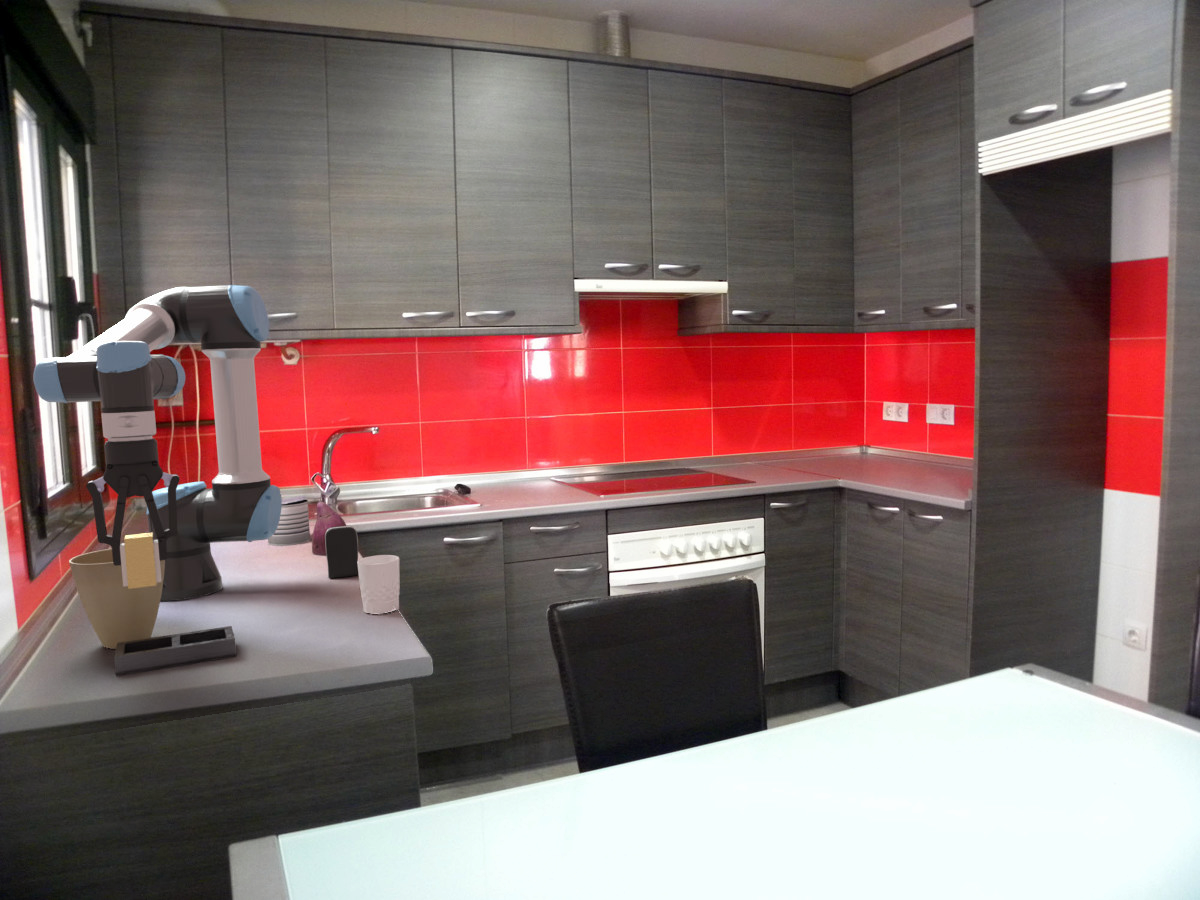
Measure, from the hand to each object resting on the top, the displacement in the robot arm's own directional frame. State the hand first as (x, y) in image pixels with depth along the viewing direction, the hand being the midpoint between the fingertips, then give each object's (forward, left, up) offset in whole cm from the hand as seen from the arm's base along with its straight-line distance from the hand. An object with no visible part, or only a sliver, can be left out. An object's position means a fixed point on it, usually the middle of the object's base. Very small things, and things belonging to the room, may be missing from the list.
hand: (142, 582), depth 145 cm
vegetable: (-74, +41, -14) cm, 86 cm away
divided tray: (0, +4, -14) cm, 14 cm away
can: (-94, +33, -14) cm, 101 cm away
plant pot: (-15, -4, -14) cm, 21 cm away
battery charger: (-44, +39, -14) cm, 60 cm away
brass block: (0, 0, 0) cm, 0 cm away
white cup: (-11, +40, -14) cm, 44 cm away
